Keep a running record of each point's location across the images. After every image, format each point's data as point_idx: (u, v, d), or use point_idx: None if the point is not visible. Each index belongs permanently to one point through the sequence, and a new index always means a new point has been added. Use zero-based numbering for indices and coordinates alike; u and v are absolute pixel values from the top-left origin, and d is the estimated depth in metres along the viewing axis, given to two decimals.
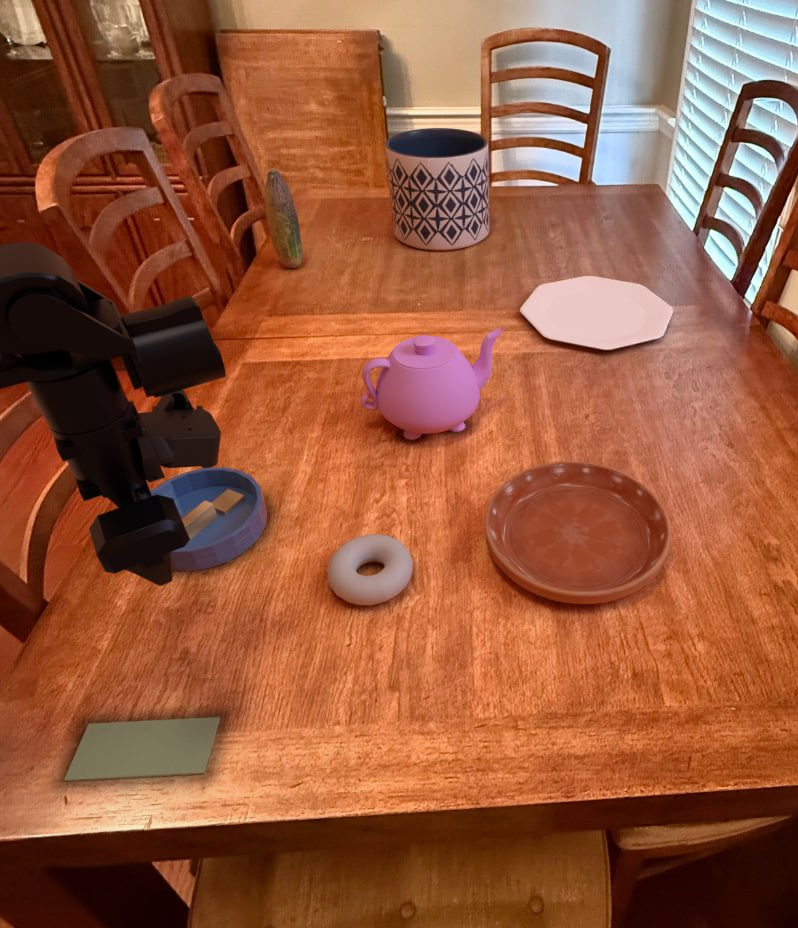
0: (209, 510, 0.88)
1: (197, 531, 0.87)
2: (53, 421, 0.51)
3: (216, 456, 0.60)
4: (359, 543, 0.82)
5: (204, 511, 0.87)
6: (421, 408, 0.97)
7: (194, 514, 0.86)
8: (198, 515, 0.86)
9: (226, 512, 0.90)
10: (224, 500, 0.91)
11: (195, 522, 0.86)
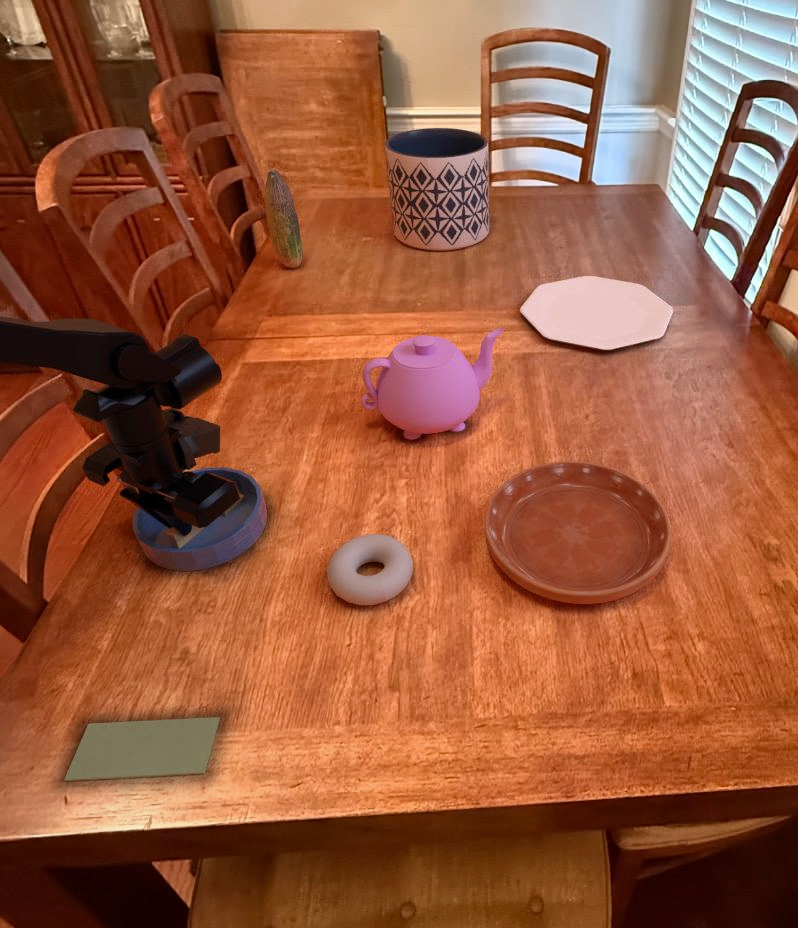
0: None
1: (197, 531, 0.87)
2: (130, 438, 0.73)
3: None
4: (359, 543, 0.82)
5: None
6: (421, 408, 0.97)
7: None
8: None
9: (226, 512, 0.90)
10: None
11: None
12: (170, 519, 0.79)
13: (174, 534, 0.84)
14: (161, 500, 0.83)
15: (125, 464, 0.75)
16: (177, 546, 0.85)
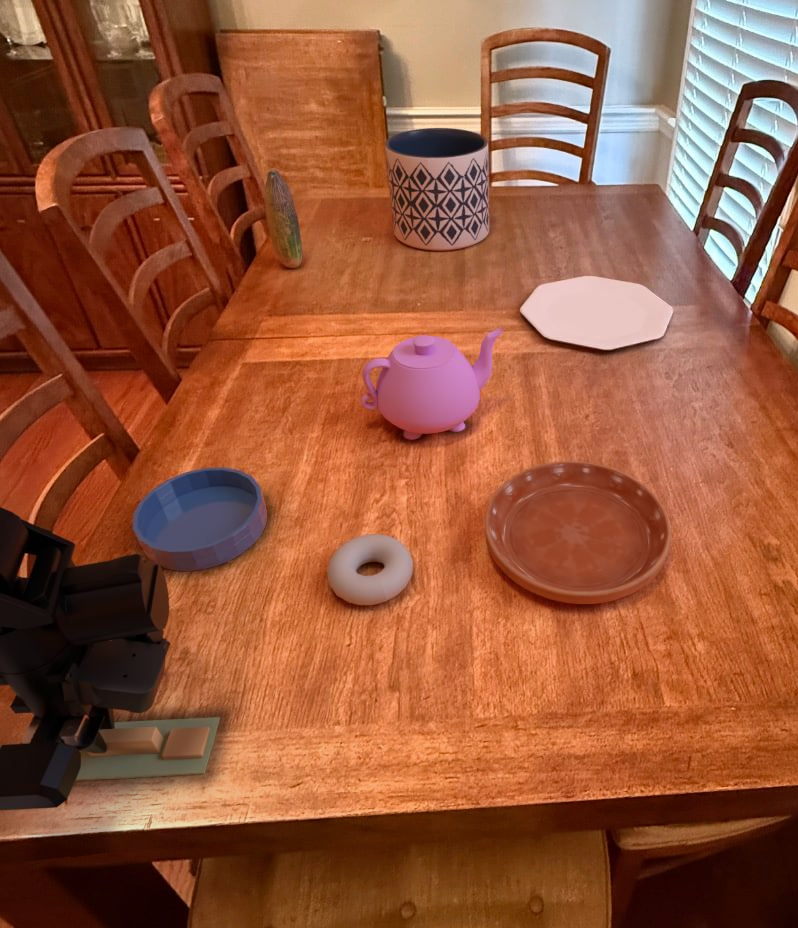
0: (144, 743, 0.64)
1: (121, 752, 0.65)
2: None
3: (146, 705, 0.58)
4: (359, 543, 0.82)
5: (135, 741, 0.64)
6: (421, 408, 0.97)
7: (126, 735, 0.64)
8: (125, 741, 0.64)
9: (165, 758, 0.65)
10: (184, 739, 0.66)
11: (118, 745, 0.64)
12: None
13: None
14: None
15: None
16: (88, 753, 0.65)
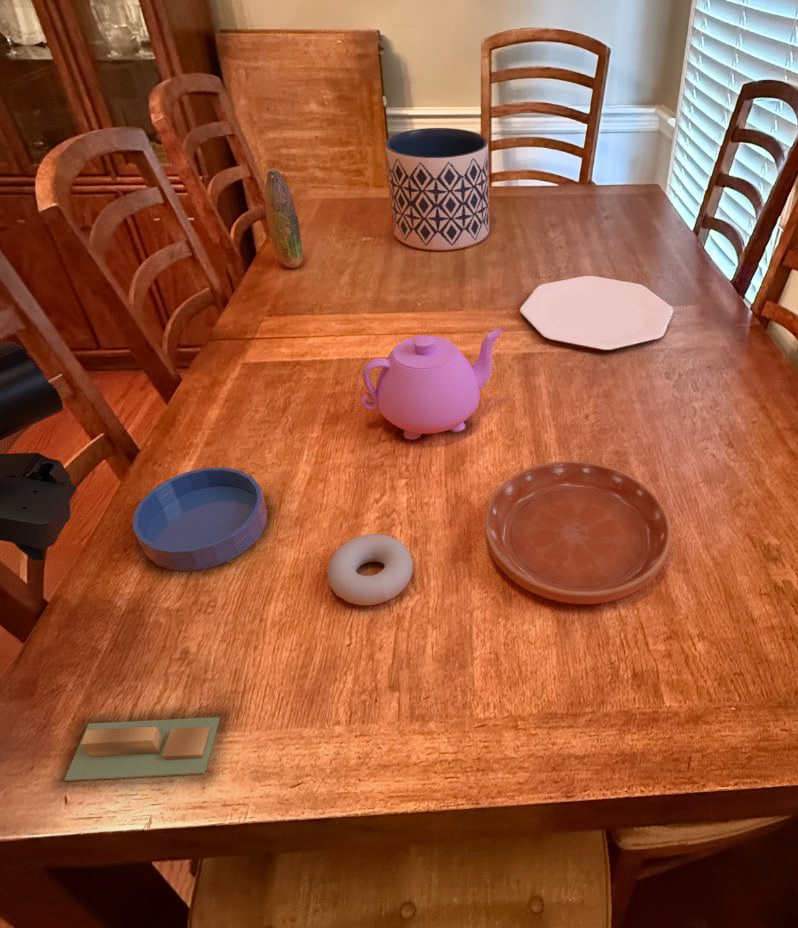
0: (144, 743, 0.64)
1: (121, 752, 0.65)
2: None
3: (46, 540, 0.58)
4: (359, 543, 0.82)
5: (135, 741, 0.64)
6: (421, 408, 0.97)
7: (126, 735, 0.64)
8: (125, 741, 0.64)
9: (165, 758, 0.65)
10: (184, 739, 0.66)
11: (118, 745, 0.64)
12: None
13: (83, 742, 0.64)
14: None
15: None
16: (88, 753, 0.65)
